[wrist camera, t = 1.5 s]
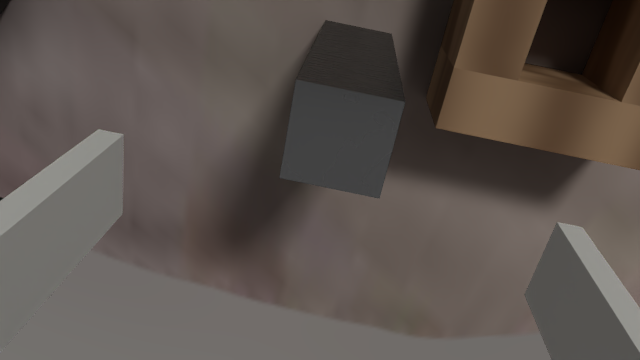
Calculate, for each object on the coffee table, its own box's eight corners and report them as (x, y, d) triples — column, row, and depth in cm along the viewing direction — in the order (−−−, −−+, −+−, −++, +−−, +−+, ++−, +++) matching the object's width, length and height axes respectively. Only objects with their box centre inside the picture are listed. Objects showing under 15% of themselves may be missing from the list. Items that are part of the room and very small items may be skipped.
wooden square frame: (425, 98, 36) (435, 127, 30) (487, -117, 30) (513, -128, 24) (612, 136, 36) (654, 173, 30) (709, -71, 30) (783, -72, 25)
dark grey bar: (313, 84, 36) (279, 177, 22) (325, 20, 34) (295, 79, 21) (376, 97, 36) (379, 198, 22) (391, 33, 34) (405, 102, 21)
